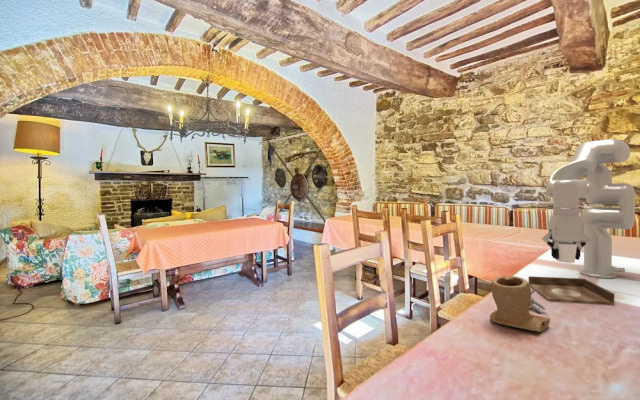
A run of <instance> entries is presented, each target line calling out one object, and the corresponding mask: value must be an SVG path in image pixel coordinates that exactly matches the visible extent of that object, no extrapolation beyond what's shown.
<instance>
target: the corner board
mask: <svg viewBox="0 0 640 400" xmlns="http://www.w3.org/2000/svg"><path fill="white" fill-rule="evenodd" d="M528 283H529V285H530V288H531V290H533V289H536V290H535V292H536V293H537V294H539V295H540V296H541V297H542V298H544V299H545V300H546V301H547V302H556V303H557V302H558V303H573V304H574V303H576V304H589V305H590V304H591V305H592V304H593V305H608V306H615V293H614V292H612V291H610V290H607V289H605V288H603V287H601V286H600V285H598V284H596V283H593V282H592V281H590V280H589V279H586V278H577V277H572V278H571V277H555V276H551V277H549V276H528Z"/></svg>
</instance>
